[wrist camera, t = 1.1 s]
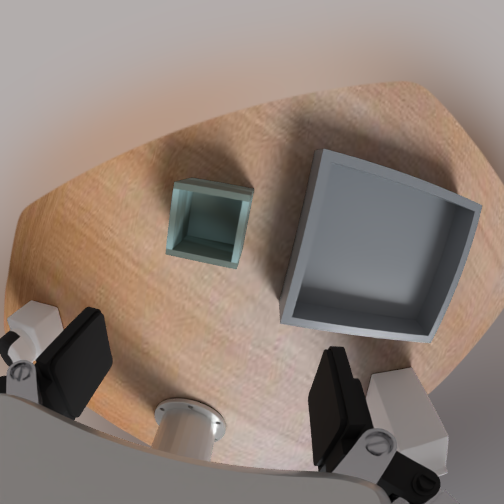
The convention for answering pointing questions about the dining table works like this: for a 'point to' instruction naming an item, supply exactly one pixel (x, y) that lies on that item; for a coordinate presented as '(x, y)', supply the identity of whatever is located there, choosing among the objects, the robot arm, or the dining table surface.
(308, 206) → the charcoal crate
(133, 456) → the robot arm
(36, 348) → the medicine bottle
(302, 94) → the dining table surface
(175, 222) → the teal crate
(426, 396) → the milk carton
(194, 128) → the dining table surface
